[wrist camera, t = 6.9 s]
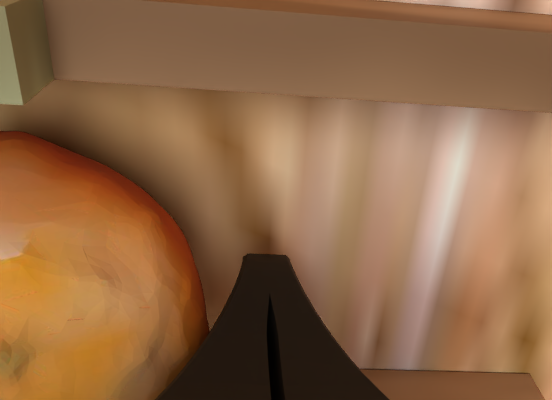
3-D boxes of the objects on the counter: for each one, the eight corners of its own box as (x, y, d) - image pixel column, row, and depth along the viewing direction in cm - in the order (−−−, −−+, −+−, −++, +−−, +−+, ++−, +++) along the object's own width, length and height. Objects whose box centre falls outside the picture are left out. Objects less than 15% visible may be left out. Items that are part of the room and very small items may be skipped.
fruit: (-147, 339, 14) (-436, 529, 7) (-10, 106, 15) (-133, 43, 8) (110, 426, 17) (108, 638, 9) (217, 222, 18) (295, 263, 10)
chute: (515, 401, 19) (572, 508, 16) (-87, 387, 18) (-170, 503, 14) (704, 27, 12) (882, 74, 9) (-282, -54, 10) (-545, -37, 7)
